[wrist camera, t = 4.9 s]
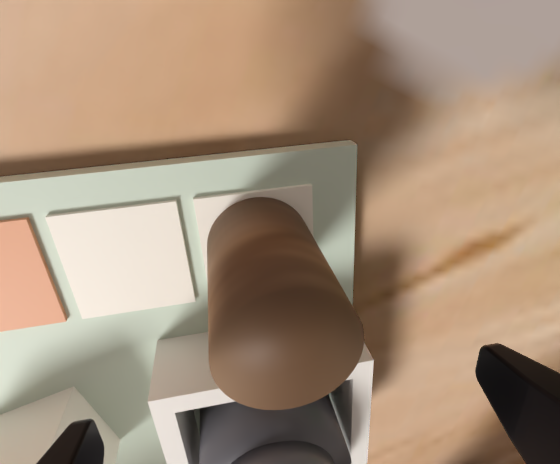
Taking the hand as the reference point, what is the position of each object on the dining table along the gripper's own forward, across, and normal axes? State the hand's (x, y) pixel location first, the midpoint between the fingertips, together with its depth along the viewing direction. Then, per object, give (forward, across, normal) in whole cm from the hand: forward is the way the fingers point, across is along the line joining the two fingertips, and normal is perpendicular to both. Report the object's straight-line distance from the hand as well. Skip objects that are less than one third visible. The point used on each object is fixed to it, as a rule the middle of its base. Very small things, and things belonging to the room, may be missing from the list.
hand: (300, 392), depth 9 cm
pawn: (+7, 0, 0) cm, 7 cm away
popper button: (+7, 0, +8) cm, 11 cm away
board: (+8, +5, +4) cm, 10 cm away
